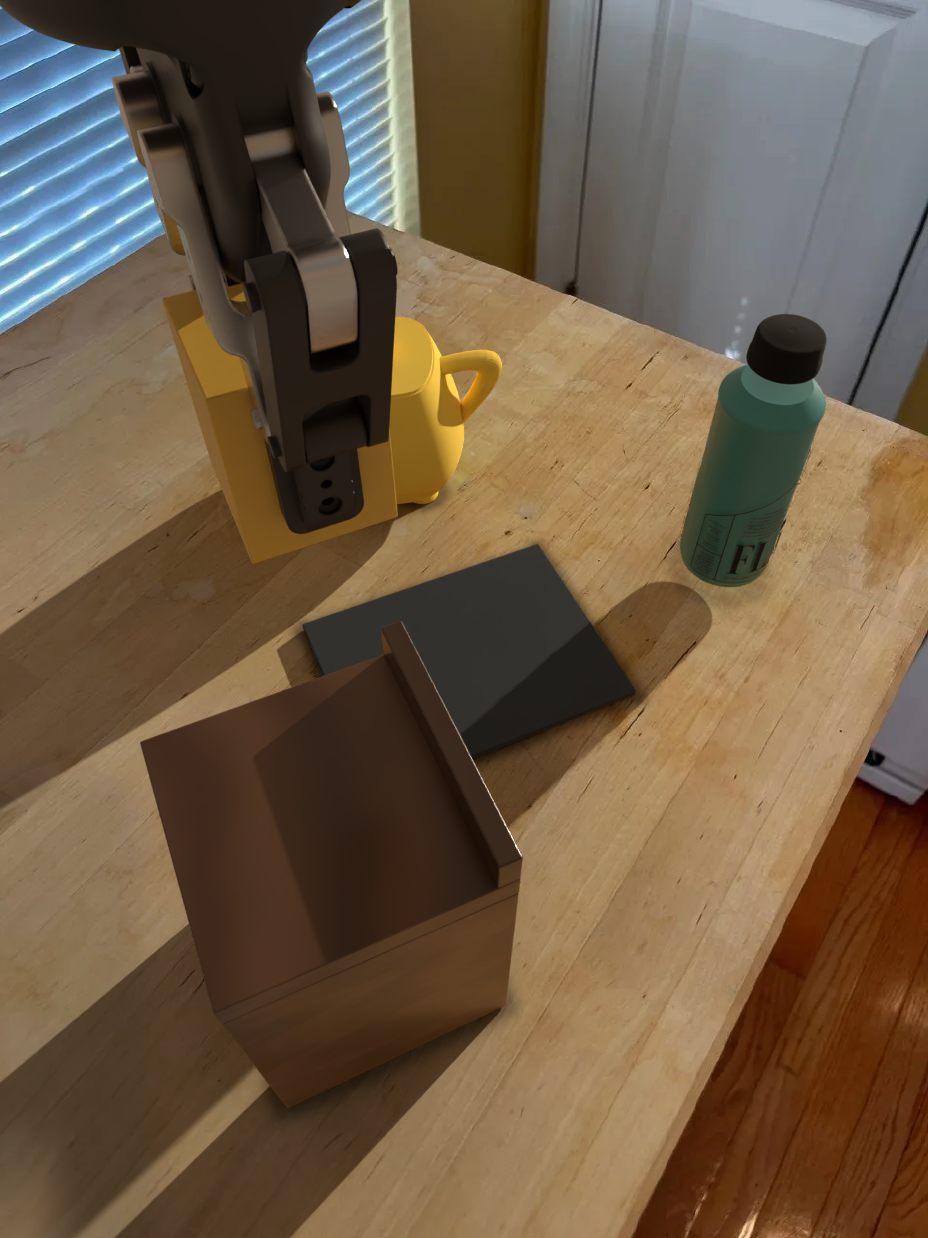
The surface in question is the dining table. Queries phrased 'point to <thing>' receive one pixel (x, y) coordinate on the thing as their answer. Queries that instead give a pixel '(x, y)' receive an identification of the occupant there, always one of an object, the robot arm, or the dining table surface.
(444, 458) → the teapot
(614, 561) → the dining table surface
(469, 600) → the slate mat
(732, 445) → the beverage bottle
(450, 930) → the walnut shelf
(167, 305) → the yellow block
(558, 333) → the dining table surface
